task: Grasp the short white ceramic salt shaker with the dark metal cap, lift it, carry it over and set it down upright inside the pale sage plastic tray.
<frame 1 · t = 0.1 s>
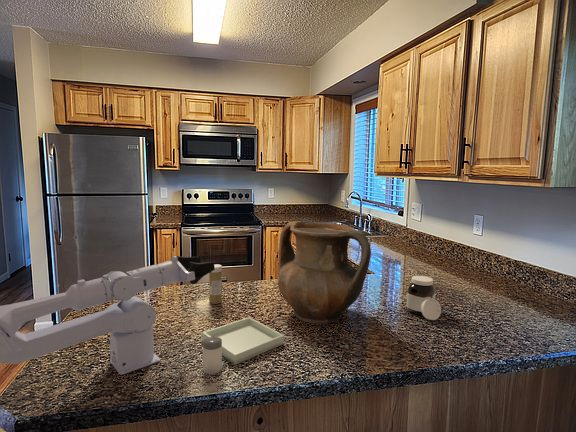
hand: (206, 263, 98), 22 cm above the worktop, tool horizontal, fingers open, 7 cm apart
tray: (242, 342, 98), on the worktop
jug: (319, 314, 119), on the worktop
shaker: (212, 368, 85), on the worktop
sprinkles bottle: (215, 302, 127), on the worktop
spread jar: (424, 314, 120), on the worktop
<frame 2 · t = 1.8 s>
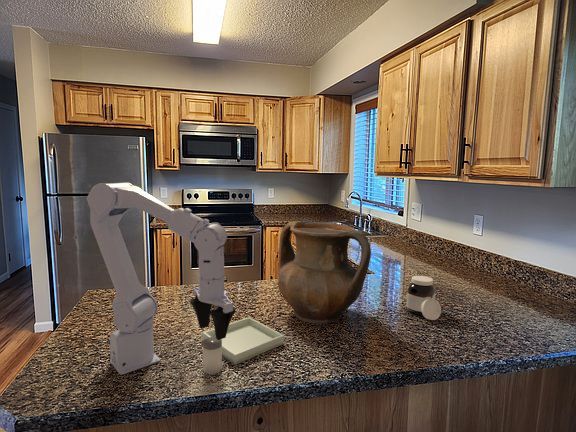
hand: (212, 332, 84), 9 cm above the worktop, tool pointing down, fingers open, 7 cm apart
nothing on the worktop moved.
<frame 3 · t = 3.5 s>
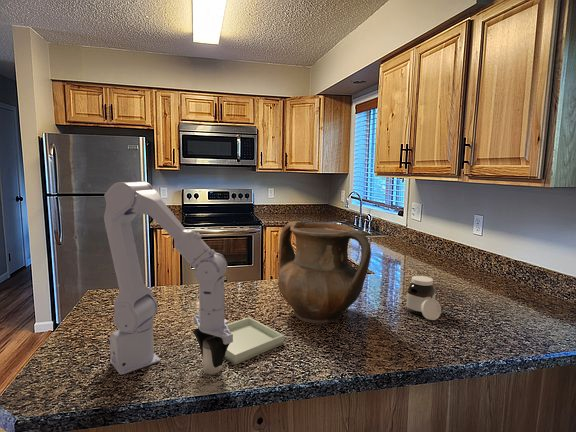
hand: (212, 361, 85), 2 cm above the worktop, tool pointing down, fingers closed on shaker, 4 cm apart
shaker: (212, 368, 85), on the worktop, touching gripper
everything else where it was.
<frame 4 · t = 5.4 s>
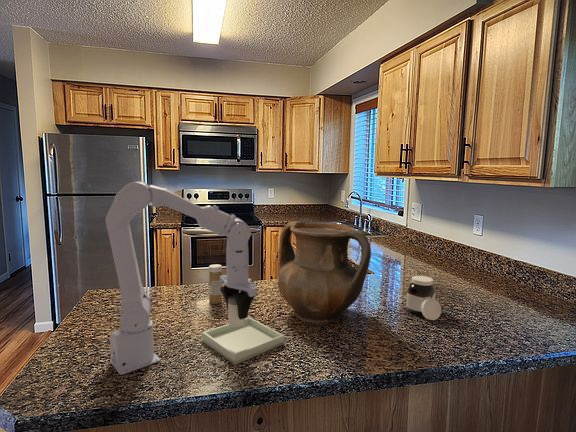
hand: (237, 315, 94), 9 cm above the worktop, tool pointing down, fingers closed on shaker, 4 cm apart
shaker: (237, 323, 94), point 7 cm above the worktop, touching gripper
everything else where it was.
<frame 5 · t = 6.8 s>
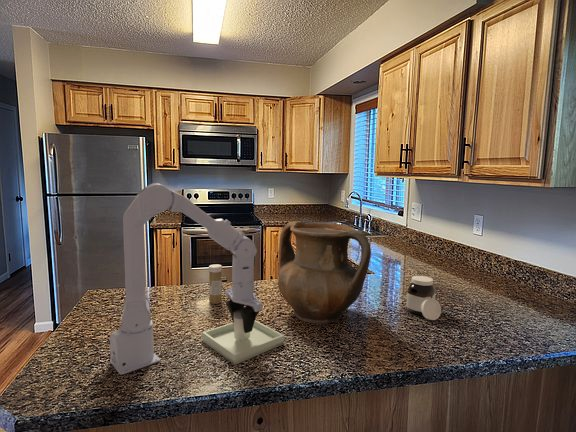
hand: (242, 328, 98), 4 cm above the worktop, tool pointing down, fingers closed on shaker, 4 cm apart
shaker: (242, 336, 98), point 2 cm above the worktop, touching gripper
everything else where it was.
when the fingers open (4 cm above the worktop, at t = 7.7 s): shaker stays where it is, resting on tray.
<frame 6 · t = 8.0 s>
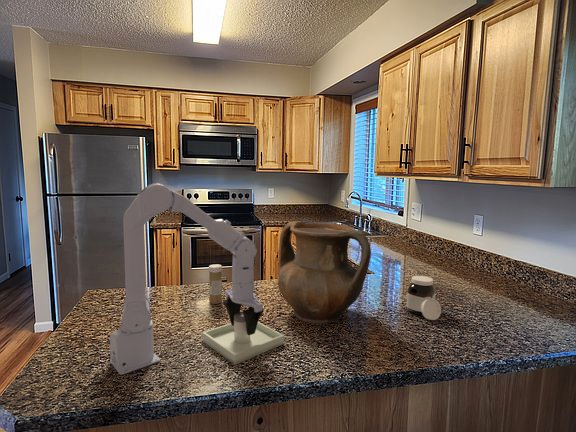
hand: (242, 329, 98), 4 cm above the worktop, tool pointing down, fingers open, 7 cm apart
shaker: (242, 339, 98), point 1 cm above the worktop, touching tray
everything else where it was.
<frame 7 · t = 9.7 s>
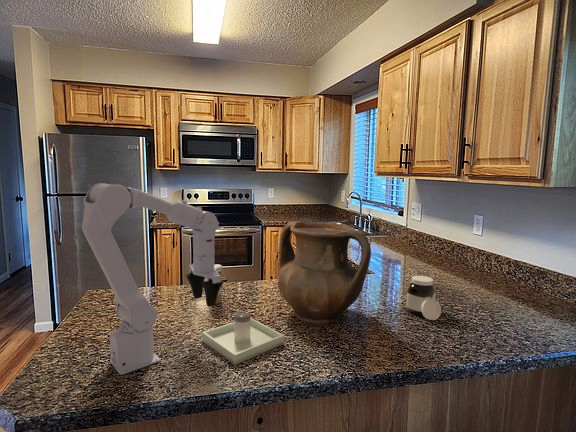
hand: (204, 301, 100), 10 cm above the worktop, tool pointing down, fingers open, 7 cm apart
nothing on the worktop moved.
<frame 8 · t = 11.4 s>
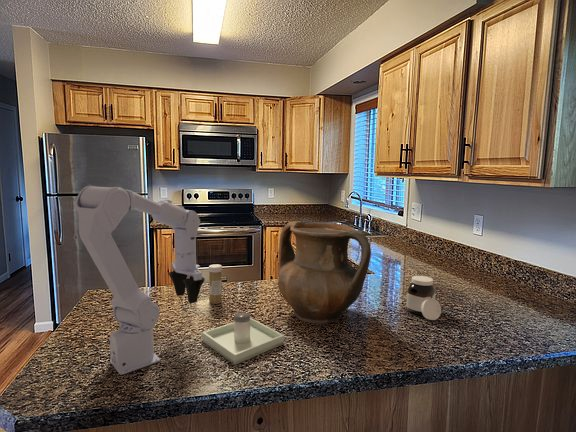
hand: (186, 298, 102), 10 cm above the worktop, tool pointing down, fingers open, 7 cm apart
nothing on the worktop moved.
at the end: shaker inside the target area on the tray (0.2 cm from its centre), point 0.8 cm above the tray's base; shaker tilted 1°; the gripper is holding nothing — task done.
